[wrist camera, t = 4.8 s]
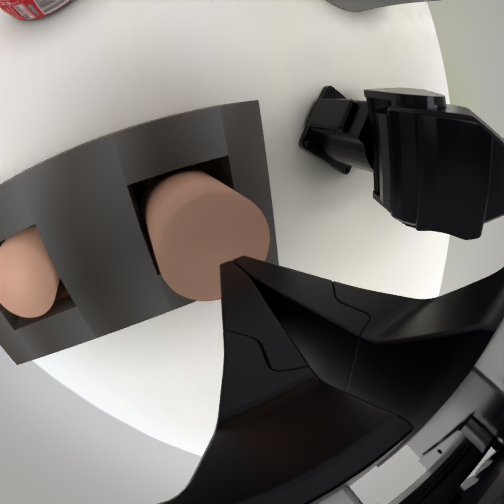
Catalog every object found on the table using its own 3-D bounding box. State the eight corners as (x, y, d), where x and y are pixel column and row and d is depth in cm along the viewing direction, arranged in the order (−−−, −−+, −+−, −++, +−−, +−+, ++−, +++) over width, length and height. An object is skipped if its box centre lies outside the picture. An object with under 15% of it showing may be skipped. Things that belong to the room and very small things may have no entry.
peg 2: (208, 156, 15) (262, 178, 10) (222, 224, 17) (274, 277, 12) (133, 178, 13) (140, 216, 8) (155, 248, 16) (178, 316, 11)
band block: (214, 106, 18) (258, 100, 12) (235, 227, 23) (278, 267, 17) (-19, 196, 12) (-65, 231, 6) (32, 304, 17) (17, 365, 11)
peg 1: (58, 197, 15) (32, 232, 10) (80, 252, 17) (69, 304, 12) (11, 220, 14) (-24, 262, 8) (35, 271, 16) (14, 325, 11)
